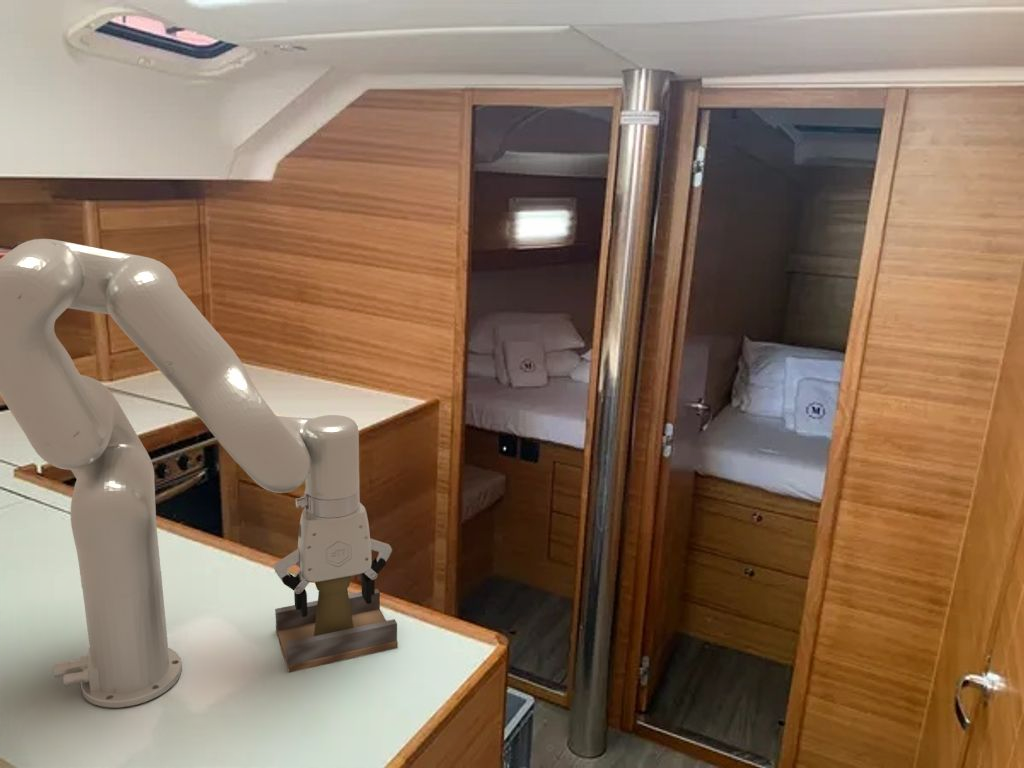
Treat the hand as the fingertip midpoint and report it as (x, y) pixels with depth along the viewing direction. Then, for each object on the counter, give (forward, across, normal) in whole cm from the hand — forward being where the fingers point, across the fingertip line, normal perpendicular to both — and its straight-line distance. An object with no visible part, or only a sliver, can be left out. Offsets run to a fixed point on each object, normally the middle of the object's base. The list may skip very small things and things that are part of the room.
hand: (335, 605), depth 120 cm
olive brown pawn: (+5, 0, 0) cm, 5 cm away
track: (+6, 0, 0) cm, 6 cm away
